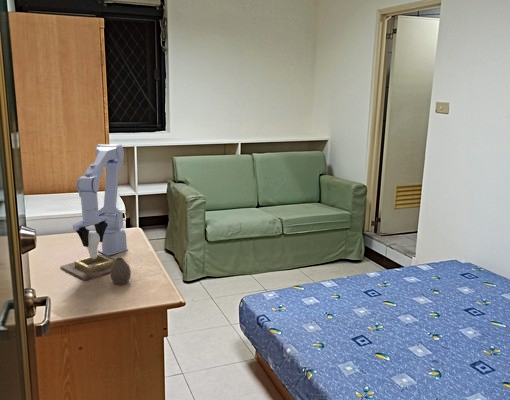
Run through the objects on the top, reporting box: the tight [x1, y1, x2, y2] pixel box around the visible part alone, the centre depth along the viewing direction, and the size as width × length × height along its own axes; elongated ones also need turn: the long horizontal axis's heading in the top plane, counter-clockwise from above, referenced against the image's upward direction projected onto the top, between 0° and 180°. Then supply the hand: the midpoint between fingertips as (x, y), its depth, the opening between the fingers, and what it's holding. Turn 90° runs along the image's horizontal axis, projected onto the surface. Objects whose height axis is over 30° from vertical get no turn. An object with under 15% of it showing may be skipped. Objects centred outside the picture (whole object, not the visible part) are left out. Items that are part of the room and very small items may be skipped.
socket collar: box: [74, 253, 114, 273], centre depth 186 cm, size 10×10×2 cm
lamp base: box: [59, 253, 117, 282], centre depth 186 cm, size 18×18×1 cm
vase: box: [109, 257, 131, 286], centre depth 172 cm, size 7×7×9 cm
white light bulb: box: [86, 230, 100, 259], centre depth 184 cm, size 6×6×11 cm
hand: (92, 243), depth 184 cm, fingers closed on white light bulb, 6 cm apart
